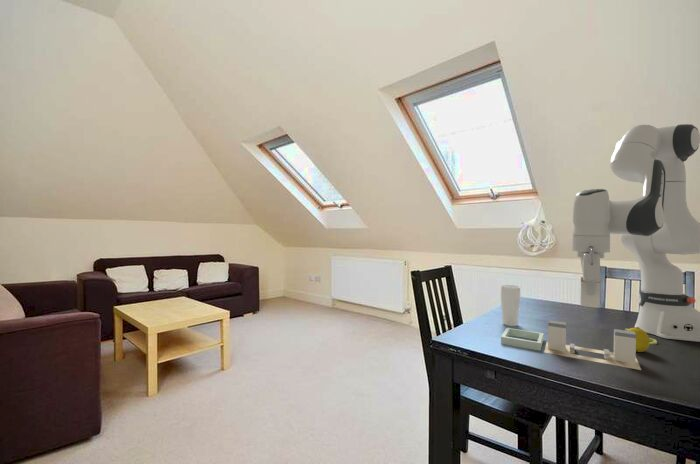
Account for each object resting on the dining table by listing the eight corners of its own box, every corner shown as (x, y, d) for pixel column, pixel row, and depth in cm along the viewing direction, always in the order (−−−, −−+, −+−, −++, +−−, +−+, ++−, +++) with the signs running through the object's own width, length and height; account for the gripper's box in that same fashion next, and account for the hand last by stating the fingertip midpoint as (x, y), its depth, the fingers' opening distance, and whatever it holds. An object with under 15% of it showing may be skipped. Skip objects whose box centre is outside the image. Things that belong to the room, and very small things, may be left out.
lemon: (640, 358, 98) (640, 330, 98) (620, 351, 103) (620, 324, 103) (654, 355, 100) (654, 328, 99) (633, 349, 105) (634, 323, 105)
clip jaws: (608, 358, 98) (608, 349, 98) (609, 362, 95) (609, 354, 95) (569, 351, 103) (570, 343, 103) (569, 355, 100) (569, 347, 100)
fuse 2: (633, 360, 95) (634, 331, 94) (635, 364, 92) (636, 334, 92) (613, 356, 97) (613, 328, 97) (614, 360, 95) (615, 331, 94)
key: (632, 333, 121) (632, 327, 121) (660, 346, 109) (661, 339, 109) (610, 332, 122) (611, 327, 122) (636, 345, 109) (636, 338, 109)
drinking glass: (522, 329, 125) (522, 288, 125) (502, 328, 126) (503, 287, 126) (517, 323, 132) (517, 285, 131) (498, 322, 133) (498, 284, 133)
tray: (543, 342, 111) (543, 333, 111) (540, 353, 102) (540, 343, 102) (506, 336, 117) (506, 327, 117) (500, 345, 108) (501, 336, 108)
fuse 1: (565, 348, 103) (566, 322, 103) (565, 351, 101) (565, 325, 101) (548, 345, 106) (548, 320, 106) (548, 348, 103) (548, 322, 103)
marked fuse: (599, 305, 99) (599, 278, 98) (599, 307, 96) (600, 279, 96) (580, 303, 101) (580, 276, 101) (580, 305, 99) (580, 278, 98)
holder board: (635, 358, 97) (635, 356, 97) (641, 373, 88) (641, 370, 88) (546, 343, 110) (546, 341, 110) (544, 355, 101) (544, 352, 101)
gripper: (607, 248, 88) (606, 301, 88) (602, 243, 105) (601, 288, 105) (577, 247, 91) (577, 298, 92) (577, 243, 108) (576, 286, 109)
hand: (590, 293), depth 99 cm, fingers closed on marked fuse, 3 cm apart
